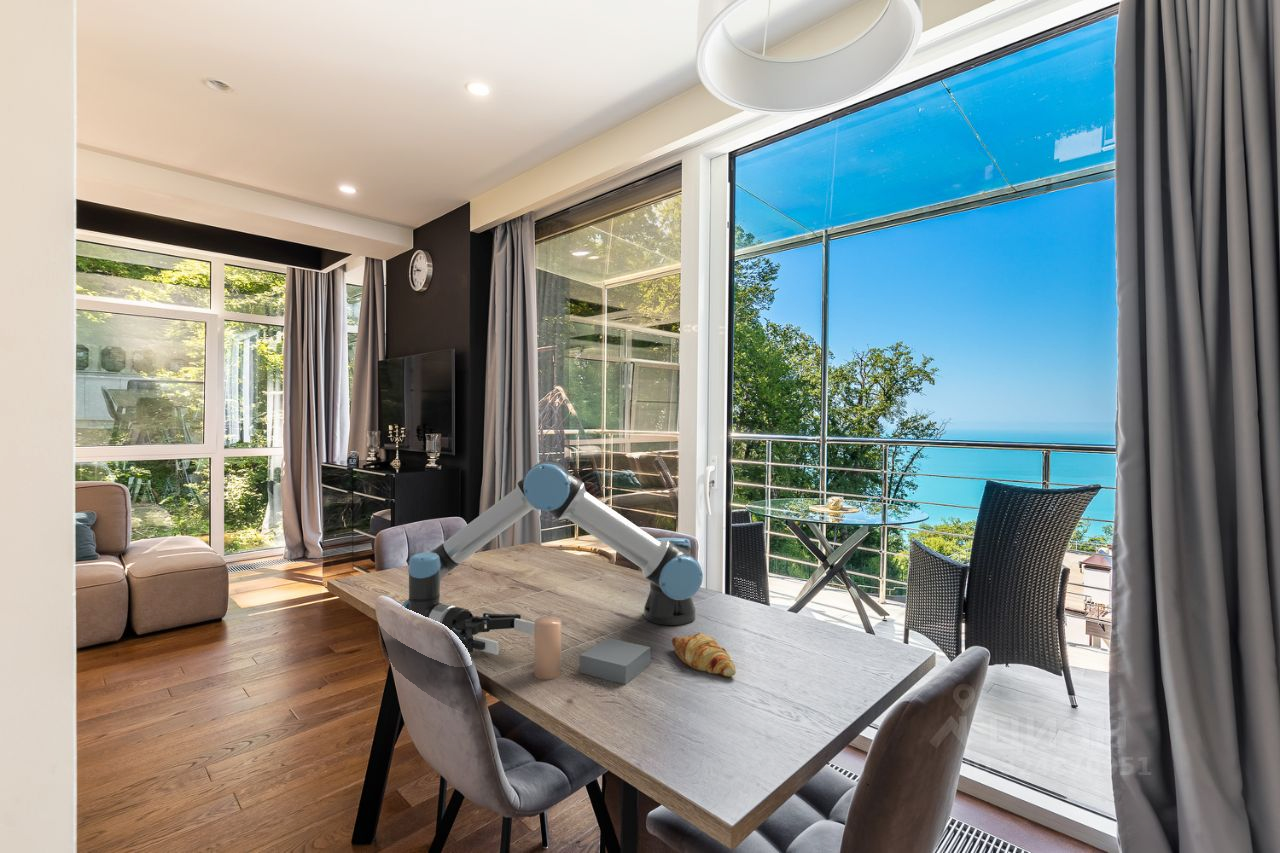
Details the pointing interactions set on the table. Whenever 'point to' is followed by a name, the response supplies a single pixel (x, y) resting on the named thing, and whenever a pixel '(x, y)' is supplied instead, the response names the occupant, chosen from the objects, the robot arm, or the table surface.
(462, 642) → the robot arm
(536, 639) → the canister
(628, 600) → the table surface
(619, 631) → the table surface
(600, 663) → the pedestal
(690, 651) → the croissant
